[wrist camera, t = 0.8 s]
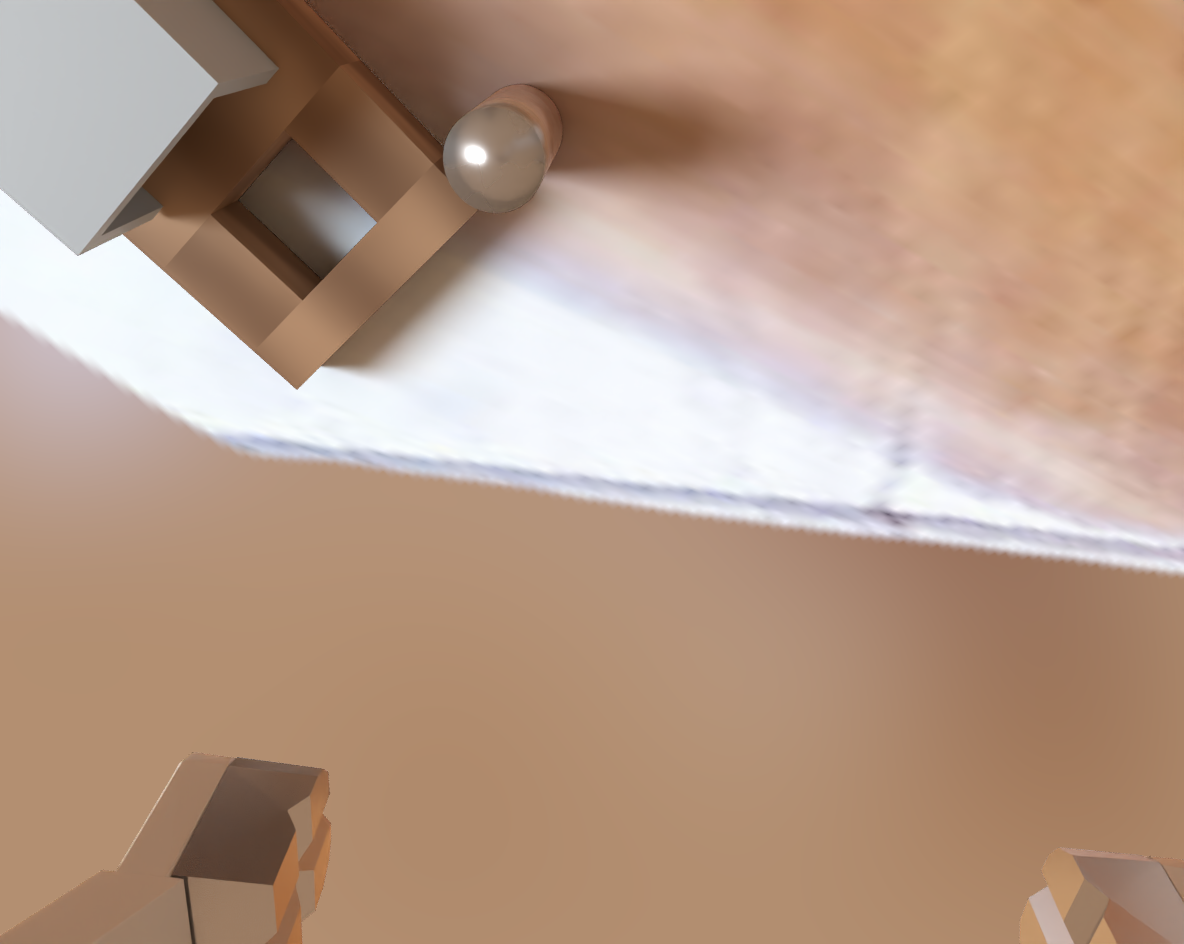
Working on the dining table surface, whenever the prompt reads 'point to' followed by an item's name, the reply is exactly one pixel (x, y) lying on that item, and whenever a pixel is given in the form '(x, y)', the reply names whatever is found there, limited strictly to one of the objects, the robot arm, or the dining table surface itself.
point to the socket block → (342, 148)
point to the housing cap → (107, 103)
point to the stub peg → (503, 148)
